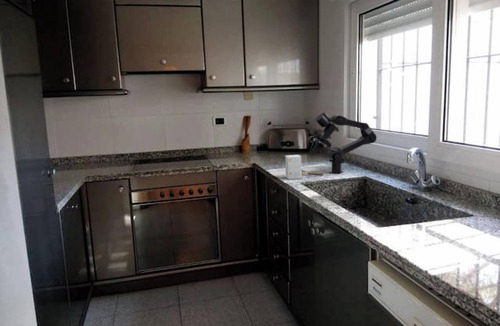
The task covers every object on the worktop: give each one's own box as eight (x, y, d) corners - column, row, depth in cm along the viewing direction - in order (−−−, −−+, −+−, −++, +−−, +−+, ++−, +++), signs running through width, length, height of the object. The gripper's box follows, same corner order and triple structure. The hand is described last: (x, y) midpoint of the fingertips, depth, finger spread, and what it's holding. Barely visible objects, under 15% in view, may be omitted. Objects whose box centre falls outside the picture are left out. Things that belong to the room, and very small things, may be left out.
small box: (299, 176, 219) (298, 154, 217) (301, 178, 213) (301, 156, 211) (285, 177, 219) (285, 155, 216) (287, 179, 212) (287, 157, 210)
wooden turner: (299, 172, 230) (299, 170, 230) (324, 174, 221) (324, 172, 221) (295, 174, 225) (295, 172, 225) (320, 176, 216) (320, 174, 216)
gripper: (310, 122, 224) (294, 142, 223) (326, 124, 207) (309, 145, 205) (322, 134, 228) (306, 154, 227) (338, 137, 211) (321, 158, 209)
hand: (310, 152), depth 217 cm, fingers closed
